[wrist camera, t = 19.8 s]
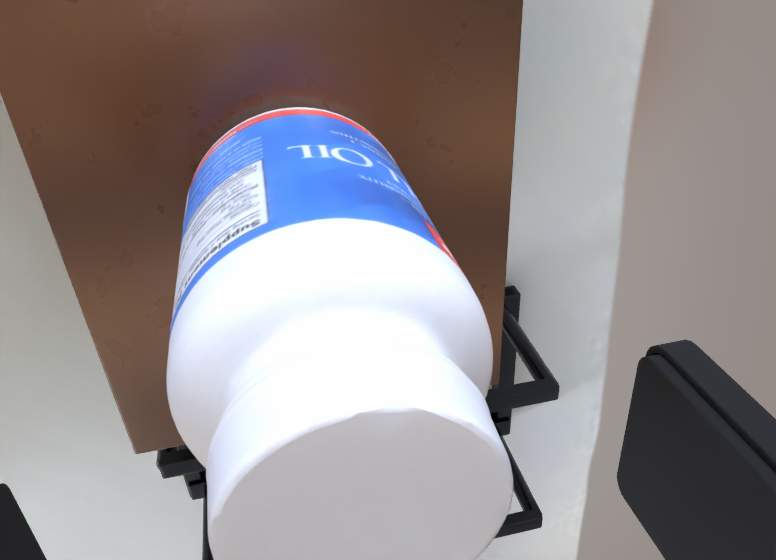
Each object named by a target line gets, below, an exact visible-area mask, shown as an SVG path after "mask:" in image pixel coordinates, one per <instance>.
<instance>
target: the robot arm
mask: <svg viewBox="0 0 776 560" xmlns="http://www.w3.org/2000/svg"><path fill="white" fill-rule="evenodd" d="M617 480H618V485H619V489H620V491H621V494H622V495H623V497H624V499H625V500H626V502H627V503H628V505H629V506H630V508H631V509H632V511H633V512H634V514H635V515H636V517H637V518H638V519H639V521H640V522H641V524H642V525H643V527H644V529H645V530H646V532H647V533H648V535H649V536H650V537H651V539H652V540H653V542H654V543H655V545H656V546H657V548H658V549H659V551H660V552H661V554H662V555H663V557H664V558H665V560H776V419H775V418H774V417H773V416H772V415H771V414H769V413H768V412H767V411H766V410H765V409H764V408H763V407H762V406H761V405H760V404H759V403H758V402H757V401H756V400H755V399H753V398H752V397H751V396H750V395H749V394H748V393H747V392H746V391H745V390H744V389H743V388H742V387H741V386H740V385H738V384H737V383H736V382H735V381H734V380H733V379H732V378H731V377H730V376H729V375H728V374H727V373H726V372H725V371H724V370H722V369H721V368H720V367H719V366H718V365H717V364H716V363H715V362H714V361H713V360H712V359H711V358H710V357H709V356H707V354H705V353H704V352H703V351H702V350H701V349H700V348H699V347H698V346H697V345H696V344H694V343H693V342H691V341H688V340H682V341H676V342H671V343H666V344H661V345H656V346H652V347H650V349H649V350H648V351H647V354H646V357H643V358H641V360H640V361H639V363H638V367H637V373H636V378H635V383H634V388H633V393H632V399H631V404H630V410H629V415H628V420H627V425H626V430H625V435H624V441H623V446H622V451H621V457H620V462H619V467H618V472H617ZM0 560H47V559H46V558H45V556H44V554H43V552H42V550H41V548H40V546H39V544H38V542H37V540H36V538H35V536H34V535H33V533H32V531H31V529H30V527H29V525H28V523H27V521H26V519H25V517H24V515H23V513H22V512H21V510H20V508H19V506H18V504H17V502H16V500H15V498H14V496H13V494H12V492H11V491H10V489H9V487H8V486H7V485H6V484H0Z"/></svg>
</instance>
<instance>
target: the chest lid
mask: <svg viewBox="0 0 776 560" xmlns="http://www.w3.org/2000/svg"><path fill="white" fill-rule="evenodd" d="M522 7H523V0H0V93H1V96H2V98H3V101H4V104H5V106H6V109H7V112H8V114H9V117H10V120H11V123H12V125H13V128H14V131H15V133H16V136H17V139H18V141H19V144H20V147H21V149H22V152H23V155H24V157H25V160H26V163H27V165H28V168H29V171H30V173H31V176H32V179H33V181H34V184H35V187H36V189H37V192H38V195H39V197H40V200H41V203H42V205H43V208H44V211H45V213H46V216H47V219H48V221H49V224H50V227H51V229H52V232H53V235H54V238H55V240H56V243H57V246H58V248H59V251H60V254H61V256H62V259H63V262H64V264H65V267H66V270H67V272H68V275H69V278H70V280H71V283H72V286H73V288H74V291H75V294H76V296H77V299H78V302H79V304H80V307H81V310H82V312H83V315H84V318H85V320H86V323H87V326H88V328H89V331H90V334H91V336H92V339H93V342H94V344H95V347H96V350H97V353H98V355H99V358H100V361H101V363H102V366H103V369H104V371H105V374H106V377H107V379H108V382H109V385H110V387H111V390H112V393H113V395H114V398H115V401H116V403H117V406H118V409H119V411H120V414H121V417H122V419H123V422H124V425H125V427H126V430H127V433H128V435H129V438H130V441H131V443H132V446H133V449H134V451H135V453H136V454H140V453H145V452H150V451H155V450H160V449H165V448H170V447H176V446H181V445H186V444H185V442H184V441H183V439H182V437H181V435H180V434H179V432H178V430H177V427H176V425H175V422H174V420H173V417H172V415H171V411H170V406H169V402H168V396H167V382H166V374H167V361H168V351H169V339H170V329H171V321H172V315H173V306H174V298H175V290H176V281H177V273H178V264H179V255H180V248H181V239H182V232H183V219H184V213H185V207H186V200H187V194H188V191H189V187H190V185H191V182H192V179H193V176H194V174H195V172H196V170H197V168H198V166H199V164H200V162H201V160H202V159H203V157H204V156H205V155H206V153H207V152H208V151H209V150H210V148H211V147H212V146H213V145H214V144H215V143H216V142H217V141H218V140H219V139H220V138H221V137H222V136H223V135H224V134H226V133H227V132H228V131H230V130H231V129H232V128H234V127H235V126H237V125H239V124H240V123H242V122H244V121H245V120H247V119H249V118H252V117H254V116H256V115H259V114H262V113H265V112H268V111H272V110H277V109H284V108H294V107H306V108H316V109H322V110H327V111H330V112H333V113H336V114H339V115H342V116H344V117H346V118H348V119H351V120H352V121H354V122H356V123H358V124H359V125H361V126H362V127H364V128H365V129H366V130H368V131H369V132H370V133H371V134H372V135H373V136H374V137H376V138H377V139H378V140H379V142H380V143H381V144H382V145H383V146H384V147H385V148H386V150H387V151H388V152H389V153H390V155H391V156H392V158H393V159H394V160H395V162H396V164H397V166H398V167H399V169H400V171H401V172H402V174H403V175H404V177H405V179H406V180H407V182H408V184H409V185H410V187H411V189H412V190H413V192H414V193H415V195H416V197H417V198H418V200H419V202H420V203H421V205H422V207H423V208H424V210H425V211H426V213H427V215H428V216H429V218H430V220H431V221H432V223H433V225H434V226H435V228H436V230H437V231H438V233H439V235H440V236H441V238H442V239H443V241H444V243H445V244H446V246H447V247H448V249H449V251H450V252H451V254H452V256H453V257H454V259H455V260H456V262H457V264H458V265H459V267H460V268H461V270H462V272H463V273H464V275H465V277H466V278H467V280H468V282H469V284H470V285H471V287H472V289H473V291H474V292H475V294H476V296H477V298H478V300H479V302H480V304H481V306H482V308H483V311H484V314H485V317H486V320H487V323H488V326H489V330H490V334H491V339H492V347H493V367H492V376H491V382H490V385H495V384H498V383H499V373H500V358H501V342H502V326H503V310H504V294H505V278H506V262H507V246H508V230H509V214H510V198H511V182H512V166H513V150H514V135H515V119H516V103H517V87H518V71H519V55H520V39H521V23H522Z"/></svg>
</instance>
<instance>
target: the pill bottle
mask: <svg viewBox="0 0 776 560" xmlns="http://www.w3.org/2000/svg"><path fill="white" fill-rule="evenodd" d="M492 367H493V347H492V339H491V334H490V330H489V326H488V323H487V320H486V317H485V314H484V311H483V308H482V306H481V304H480V302H479V300H478V298H477V296H476V294H475V292H474V291H473V289H472V287H471V285H470V284H469V282H468V280H467V278H466V277H465V275H464V273H463V272H462V270H461V268H460V267H459V265H458V264H457V262H456V260H455V259H454V257H453V256H452V254H451V252H450V251H449V249H448V247H447V246H446V244H445V243H444V241H443V239H442V238H441V236H440V235H439V233H438V231H437V230H436V228H435V226H434V225H433V223H432V221H431V220H430V218H429V216H428V215H427V213H426V211H425V210H424V208H423V207H422V205H421V203H420V202H419V200H418V198H417V197H416V195H415V193H414V192H413V190H412V189H411V187H410V185H409V184H408V182H407V180H406V179H405V177H404V175H403V174H402V172H401V171H400V169H399V167H398V166H397V164H396V162H395V160H394V159H393V158H392V156H391V155H390V153H389V152H388V151H387V150H386V148H385V147H384V146H383V145H382V144H381V143H380V142H379V140H378V139H377V138H376V137H374V136H373V135H372V134H371V133H370V132H369V131H368V130H366V129H365V128H364V127H362V126H361V125H359V124H358V123H356V122H354V121H352V120H351V119H348V118H346V117H344V116H342V115H339V114H336V113H333V112H330V111H327V110H322V109H316V108H306V107H294V108H284V109H277V110H272V111H268V112H265V113H262V114H259V115H256V116H254V117H252V118H249V119H247V120H245V121H244V122H242V123H240V124H239V125H237V126H235V127H234V128H232V129H231V130H230V131H228V132H227V133H226V134H224V135H223V136H222V137H221V138H220V139H219V140H218V141H217V142H216V143H215V144H214V145H213V146H212V147H211V148H210V150H209V151H208V152H207V153H206V155H205V156H204V157H203V159H202V160H201V162H200V164H199V166H198V168H197V170H196V172H195V174H194V176H193V179H192V182H191V185H190V187H189V191H188V194H187V200H186V207H185V213H184V219H183V232H182V239H181V248H180V255H179V264H178V273H177V281H176V290H175V298H174V306H173V315H172V321H171V329H170V339H169V351H168V361H167V374H166V382H167V396H168V402H169V406H170V411H171V415H172V417H173V420H174V422H175V425H176V427H177V430H178V432H179V434H180V435H181V437H182V439H183V441H184V442H185V444H186V445H187V447H188V448H189V449H190V451H191V452H192V453H193V455H194V456H195V457H196V458H197V460H198V461H199V462H200V463H201V464H202V465H203V466H204V467H205V468H206V480H207V519H208V539H209V546H210V549H211V552H212V556H213V559H214V560H475V559H476V558H477V557H478V556H479V555H480V554H481V553H482V552H483V551H484V550H485V549H486V548H487V546H488V545H489V544H490V543H491V541H492V540H493V539H494V537H495V536H496V535H497V533H498V532H499V530H500V528H501V526H502V525H503V523H504V521H505V519H506V516H507V514H508V511H509V509H510V505H511V500H512V495H513V475H512V469H511V464H510V461H509V457H508V454H507V452H506V450H505V448H504V445H503V443H502V441H501V439H500V437H499V434H498V432H497V430H496V428H495V425H494V423H493V421H492V419H491V416H490V411H489V408H488V405H487V403H486V401H485V398H486V395H487V392H488V389H489V386H490V382H491V376H492Z"/></svg>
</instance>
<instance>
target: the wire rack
mask: <svg viewBox="0 0 776 560" xmlns="http://www.w3.org/2000/svg"><path fill="white" fill-rule="evenodd" d="M519 308H520V293H519V292H518V290H517V289H516V288H515V286H509V287H505V294H504V310H503V326H502V342H501V358H500V373H499V383H498V384H495V385H493V389H489V390H488V392H487V395H486V398H485V401H486V403H487V405H488V408H489V411H490V416H491V419H492V421H493V423H494V425H495V428H496V430H497V432H498V434H499V437H500V439H501V441H502V443H503V445H504V448H505V450H506V452H507V454H508V457H509V461H510V464H511V469H512V475H513V490H514V493H515V495H516V497H517V499H518V501H519V503H520V505H521V507H522V509H523V511H522V512H518V513H513V514H509V515H507V516H506V519H505V521H504V523H503V525H502V526H501V528H500V530H499V532H498V533H497V535H496V536H495V537H494V538H498V537H503V536H507V535H511V534H515V533H520V532H524V531H528V530H532V529H537V528H541V526H542V513H541V511H540V509H539V507H538V505H537V503H536V501H535V499H534V497H533V495H532V493H531V491H530V489H529V487H528V485H527V483H526V481H525V480H524V478H523V476H522V474H521V472H520V470H519V468H518V466H517V464H516V462H515V460H514V458H513V456H512V454H511V452H510V450H509V448H508V446H507V444H506V442H505V440H504V438H503V435H508V434H510V424H511V411H512V409H513V408H518V407H523V406H527V405H532V404H537V403H542V402H547V401H552V400H557V399H558V395H559V384H558V382H557V381H556V379H555V378H554V376H553V375H552V373H551V372H550V370H549V369H548V367H547V366H546V364H545V363H544V361H543V360H542V358H541V357H540V355H539V354H538V352H537V351H536V349H535V348H534V346H533V345H532V343H531V342H530V340H529V339H528V337H527V336H526V334H525V333H524V332H523V330H522V329H521V327H520V326H519V324H518V321H519ZM516 351H517V353H518V354H519V356H520V357H521V359H522V361H523V362H524V364H525V365H526V367H527V369H528V370H529V372H530V373H531V375H532V377H533V378H534V380H535V381H530V382H525V383H520V384H515V385H514V372H515V359H516ZM156 465H157V467H158V469H160V472H161V474H162V477H163V478H164V479H165V478H170V477H175V476H180V475H183V476H184V479H185V482H186V485H187V488H188V491H189V494H190V497H192V499H193V500H195V499H200V498H204V499H203V552H202V560H214V559H213V556H212V552H211V549H210V546H209V539H208V519H207V480H206V468H205V467H204V466H203V465H202V464H201V463H200V462H199V461H198V460H197V458H196V457H195V456H194V455H193V453H192V452H191V451H190V449H189V448H188V447H187V445H181V446H176V447H170V448H165V449H160V450H158V453H157V463H156Z"/></svg>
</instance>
